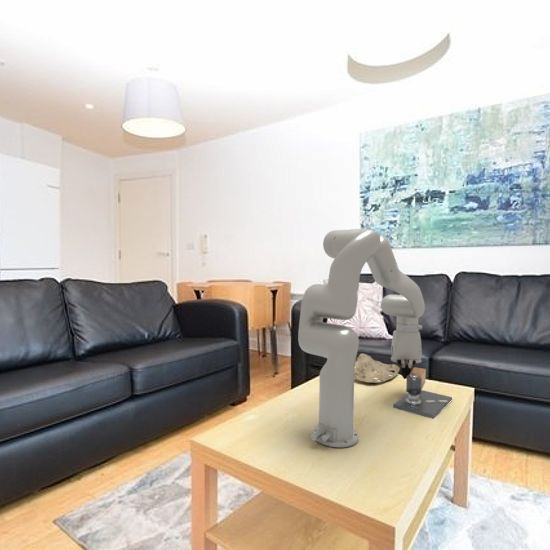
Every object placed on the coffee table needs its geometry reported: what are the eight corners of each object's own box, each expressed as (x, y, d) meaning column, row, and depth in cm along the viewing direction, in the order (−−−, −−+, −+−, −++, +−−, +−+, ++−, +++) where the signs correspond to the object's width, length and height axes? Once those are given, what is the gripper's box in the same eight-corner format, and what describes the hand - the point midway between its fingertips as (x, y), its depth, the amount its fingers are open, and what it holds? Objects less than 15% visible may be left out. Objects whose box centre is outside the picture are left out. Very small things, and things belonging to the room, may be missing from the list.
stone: (369, 344, 178) (401, 345, 170) (372, 364, 180) (404, 367, 171) (345, 371, 154) (381, 374, 146) (348, 395, 156) (385, 399, 147)
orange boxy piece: (420, 395, 127) (420, 378, 126) (404, 392, 129) (405, 376, 129) (426, 382, 140) (426, 367, 139) (412, 380, 142) (413, 365, 142)
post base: (434, 418, 120) (434, 404, 120) (393, 407, 128) (393, 394, 128) (453, 400, 135) (453, 388, 135) (415, 391, 144) (415, 379, 143)
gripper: (425, 326, 142) (423, 375, 143) (384, 325, 143) (382, 373, 144) (431, 330, 135) (429, 382, 136) (388, 329, 136) (386, 380, 137)
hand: (405, 377), depth 140 cm, fingers closed
